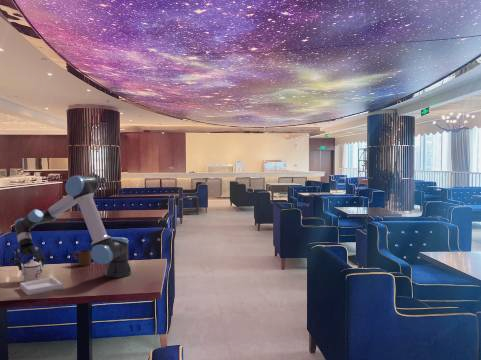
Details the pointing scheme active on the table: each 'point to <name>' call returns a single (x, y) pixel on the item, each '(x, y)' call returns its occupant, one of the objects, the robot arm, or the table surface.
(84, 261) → the mug
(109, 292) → the table surface
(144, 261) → the table surface
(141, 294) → the table surface
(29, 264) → the teacup with lid
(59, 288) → the tray
